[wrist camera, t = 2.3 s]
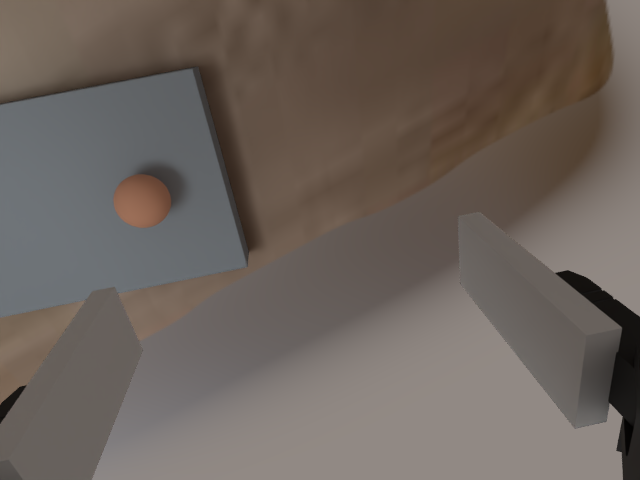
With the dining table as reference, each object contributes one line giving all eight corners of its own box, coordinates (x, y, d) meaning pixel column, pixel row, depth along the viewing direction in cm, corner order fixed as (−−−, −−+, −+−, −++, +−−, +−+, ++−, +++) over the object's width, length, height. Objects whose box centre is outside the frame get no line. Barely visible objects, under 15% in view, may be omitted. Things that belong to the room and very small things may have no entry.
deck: (-67, 316, 34) (-91, 335, 31) (-188, 139, 28) (-228, 148, 25) (248, 252, 34) (247, 267, 32) (197, 66, 28) (192, 68, 26)
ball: (133, 220, 30) (117, 241, 27) (114, 173, 28) (96, 189, 25) (182, 210, 30) (172, 230, 27) (166, 163, 28) (154, 178, 25)
